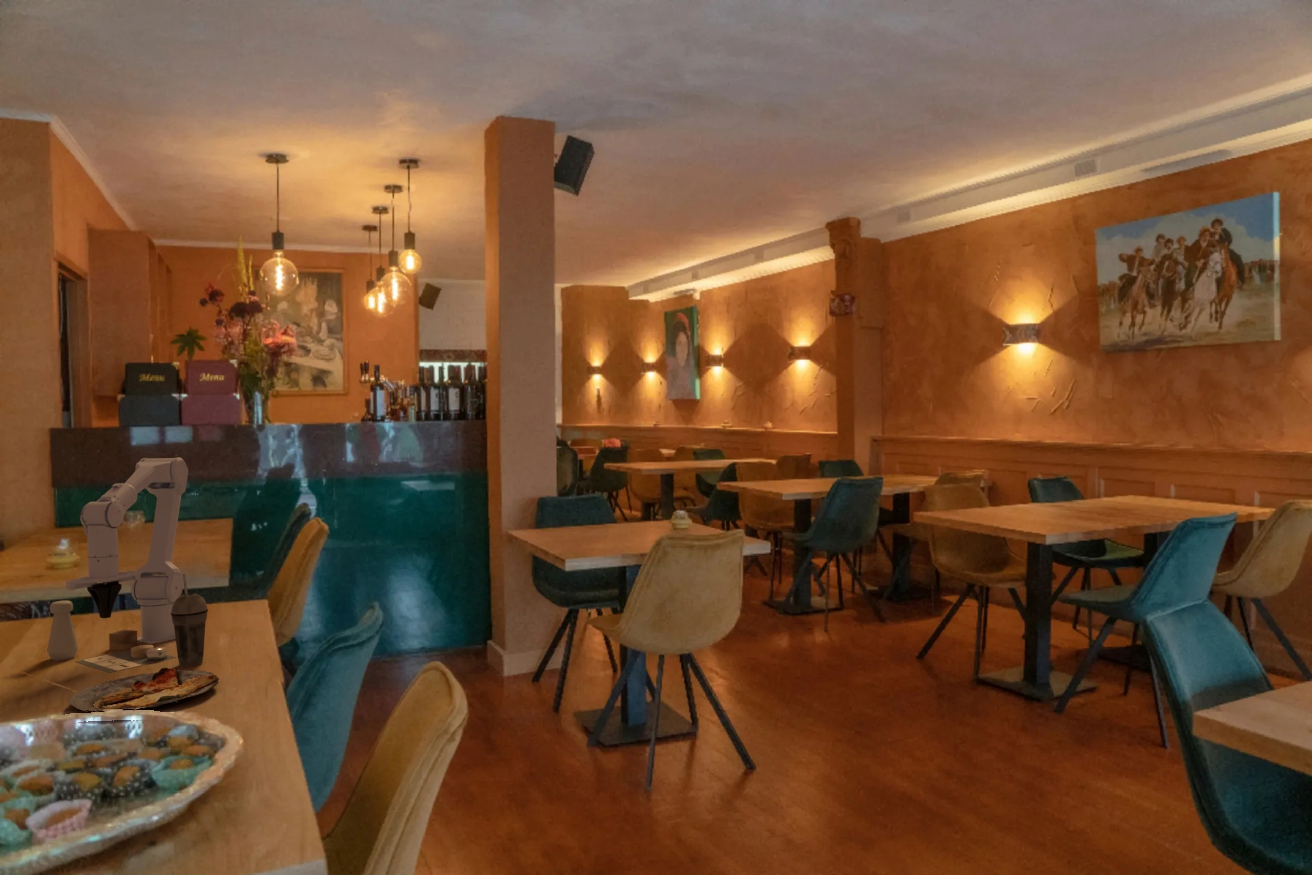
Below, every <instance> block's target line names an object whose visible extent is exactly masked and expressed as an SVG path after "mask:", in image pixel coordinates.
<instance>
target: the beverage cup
mask: <svg viewBox="0 0 1312 875" xmlns="http://www.w3.org/2000/svg"><path fill="white" fill-rule="evenodd" d="M186 576H187V575H186V573H182V579H183V580H182V582H183V589H184V594H181V595H180V597H178V598H177V599H176V601H175V602H174V604H173V606H172V612H171V615H172V621H173V624H174V630H175V638H176V639H175V644H176V654H177V659H178V664H179V667H182V668H186V667H187V668H188V667H189V668H190V667H195V666H200V665H203V661H204V653H205V652H204V651H205V639H206V638H205V636H206V621H207V618H208V611H209V608H208V604H207V602H206V600H205V599H204V597H203V596H201V595H200V594H198V593H195V592H188V585H187V577H186Z"/></svg>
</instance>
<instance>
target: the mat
mask: <svg viewBox="0 0 1312 875" xmlns="http://www.w3.org/2000/svg"><path fill="white" fill-rule="evenodd" d="M173 659H178V656H177V657H176V656H173V655H168V654H167V658H166V659H163V660H158V661H147V658H140V659H134V658H131V649H128V650H123V651H120V652H114V653H111V654H103V655H100V656H94V657H90V658H85V659H81V660H78V661H75V663H77V664H80V665H84V666H87V667H90V668H93V669H97V670H99V671H103V672H105V673H109V674H110V673H116V672H121V671H123V670H127V669H128V670H129V669H132V668H137V667H141V666H146V665H151V664H155V663H160V662H163V661H167V660H173Z"/></svg>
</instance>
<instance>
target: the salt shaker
mask: <svg viewBox="0 0 1312 875" xmlns="http://www.w3.org/2000/svg"><path fill="white" fill-rule="evenodd" d="M49 605H50V606H49V611H50V613H51V614H53V618H52V623H51V629H50V633H49V639H48V643H47V644H48V645H47V649H46V651H47V654H48V656H49V658H50V659H51V661H59V662H60V661H66V660H70V659H73V658H75V657H76V655H77V652H78V649H79V645H78V641H77V636H76V632H75V627H74V624H73V620H72V615H71V612H72V611H73V609H74V604H73V602H72V601H71V600H57V601H54V602H52V603H51V604H49Z"/></svg>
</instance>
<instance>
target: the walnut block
mask: <svg viewBox="0 0 1312 875" xmlns="http://www.w3.org/2000/svg"><path fill="white" fill-rule="evenodd" d="M108 636H109V637H108V640H109V643H108V644H109V650H113V651H127V650H131V648H132V647H135V646H139V645H138V644H139V643H138V642H139V641H137V638H138V630H135V629H134V630H129V629H123V630H117V631H116V632H115V631H114V632H111V633H108Z"/></svg>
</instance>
